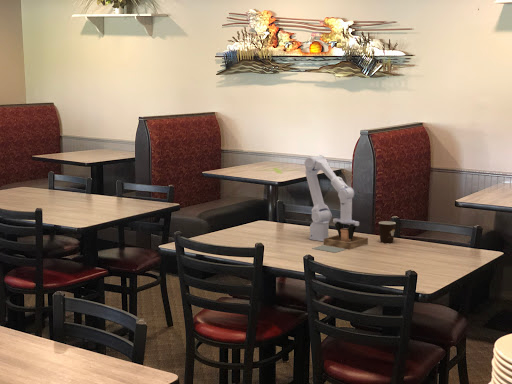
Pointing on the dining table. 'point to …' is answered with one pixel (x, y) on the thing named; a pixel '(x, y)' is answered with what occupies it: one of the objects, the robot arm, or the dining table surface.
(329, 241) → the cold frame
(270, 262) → the dining table surface
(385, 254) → the dining table surface
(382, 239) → the coffee mug
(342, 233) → the terracotta pot
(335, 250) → the rubber mat
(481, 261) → the dining table surface
